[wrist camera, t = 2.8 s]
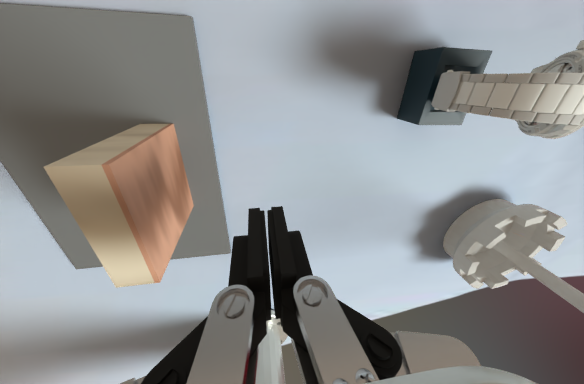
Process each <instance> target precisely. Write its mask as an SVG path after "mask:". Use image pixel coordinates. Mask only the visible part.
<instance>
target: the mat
mask: <svg viewBox="0 0 584 384" xmlns="http://www.w3.org/2000/svg"><path fill="white" fill-rule="evenodd" d="M139 124H174V127H175V131H176V135H177V139H178V144H179V148H180V152H181V156H182V160H183V164H184V168H185V172H186V176H187V180H188V184H189V188H190V192H191V196H192V200H193V204H194V206H193V209H192V211H191V213H190V215H189V218H188V220H187V222H186V224H185V227H184V229H183V231H182V234H181V236H180V238H179V240H178V243H177V245H176V247H175V249H174V252H173V254H172V256H171V259H180V258H190V257H199V256H209V255H219V254H228V253H230V252H231V249H230V243H229V237H228V231H227V224H226V218H225V212H224V206H223V200H222V194H221V188H220V181H219V175H218V169H217V163H216V157H215V151H214V145H213V139H212V132H211V126H210V120H209V114H208V108H207V102H206V96H205V89H204V83H203V77H202V71H201V65H200V59H199V53H198V47H197V40H196V34H195V28H194V22H193V18H192V17H191V16H181V15H166V14H151V13H137V12H122V11H107V10H93V9H78V8H63V7H48V6H34V5H19V4H4V3H0V161H1V162H2V164H3V165H4V167H5V168H6V170H7V171H8V172H9V174H10V175H11V177H12V178H13V180H14V181H15V182H16V184H17V185H18V187H19V188H20V190H21V191H22V192H23V194H24V195H25V197H26V198H27V200H28V201H29V202H30V204H31V205H32V207H33V208H34V210H35V211H36V212H37V214H38V215H39V217H40V218H41V220H42V221H43V222H44V224H45V225H46V227H47V228H48V230H49V231H50V232H51V234H52V235H53V237H54V238H55V240H56V241H57V242H58V244H59V245H60V247H61V248H62V250H63V251H64V252H65V254H66V255H67V257H68V258H69V260H70V261H71V262H72V264H73V265H74V267H75V268H76V269H84V268H93V267H103V265H102V263H101V262H100V260H99V258H98V257H97V255H96V254H95V252H94V250H93V249H92V247H91V245H90V244H89V242H88V240H87V239H86V237H85V235H84V234H83V232H82V230H81V229H80V227H79V225H78V224H77V222H76V220H75V219H74V217H73V215H72V214H71V212H70V210H69V209H68V207H67V205H66V204H65V202H64V200H63V199H62V197H61V195H60V194H59V192H58V190H57V189H56V187H55V185H54V184H53V182H52V180H51V179H50V177H49V175H48V174H47V172H46V170H45V169H44V166H46V165H49V164H51V163H53V162H55V161H58V160H60V159H62V158H64V157H67V156H69V155H71V154H73V153H76V152H78V151H80V150H82V149H85V148H87V147H89V146H91V145H94V144H96V143H98V142H100V141H103V140H105V139H107V138H109V137H112V136H114V135H116V134H118V133H121V132H123V131H125V130H127V129H130V128H132V127H134V126H136V125H139Z"/></svg>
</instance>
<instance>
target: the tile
mask: <svg viewBox="0 0 584 384" xmlns="http://www.w3.org/2000/svg"><path fill="white" fill-rule="evenodd" d="M44 169H45V170H46V172H47V174H48V175H49V177H50V179H51V180H52V182H53V184H54V185H55V187H56V189H57V190H58V192H59V194H60V195H61V197H62V199H63V200H64V202H65V204H66V205H67V207H68V209H69V210H70V212H71V214H72V215H73V217H74V219H75V220H76V222H77V224H78V225H79V227H80V229H81V230H82V232H83V234H84V235H85V237H86V239H87V240H88V242H89V244H90V245H91V247H92V249H93V250H94V252H95V254H96V255H97V257H98V258H99V260H100V262H101V263H102V265H103V267H104V268H105V270H106V272H107V273H108V275H109V277H110V278H111V280H112V282H113V283H114V285H115V287H116V288H117V287H125V286H134V285H142V284H150V283H159V282H160V281H161V279H162V277H163V274H164V272H165V270H166V268H167V265H168V263H169V261H170V259H171V256H172V254H173V252H174V249H175V247H176V245H177V243H178V240H179V238H180V236H181V234H182V231H183V229H184V227H185V224H186V222H187V220H188V218H189V215H190V213H191V211H192V209H193V206H194V204H193V200H192V196H191V192H190V188H189V184H188V180H187V176H186V172H185V168H184V164H183V160H182V156H181V152H180V148H179V144H178V139H177V135H176V131H175V127H174V124H139V125H136V126H134V127H132V128H130V129H127V130H125V131H123V132H121V133H118V134H116V135H114V136H112V137H109V138H107V139H105V140H103V141H100V142H98V143H96V144H94V145H91V146H89V147H87V148H85V149H82V150H80V151H78V152H76V153H73V154H71V155H69V156H67V157H64V158H62V159H60V160H58V161H55V162H53V163H51V164H49V165H46V166H44Z"/></svg>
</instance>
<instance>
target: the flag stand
mask: <svg viewBox="0 0 584 384" xmlns="http://www.w3.org/2000/svg"><path fill="white" fill-rule="evenodd" d="M566 225H567V222H566V220H565V219H564V218H562V217H561V216H559V215H556V214H554V213H552V212H550V211H548V210H546V209H543V208H541V207H539V206H536V205H533V204H523V205H515V204H513V203H511V202H509V201H507V200H504V199H492V200H487V201H484V202H481V203H479V204H477V205H475V206H473V207H472V208H470V209H468V210H467V211H465V212H464V213H463V214H462V215H460V216H459V217H458V218H457V219H456V220H455V221H454V222H453V223H452V225H451V226H450V227H449V229H448V230H447V232H446V234H445V237H444V240H443V248H444V250H445V252H446V253H447V254H448V255H450V256H451V257H452V258H453V267H454V269H455V271H456V272H457V273H458V274H459V275H460V276H461V277H462V278H463V279H464V280H466V281H467V282H468V283H469V284H470V285H471V286H472V287H474V288H477V289H479V288H480V287H481V286H482V285H483V283H482V282H484V283H485V284H487V285H488V286H489V287H490V288H491V289H493V288H497V287H501V286H504V285H506V284H508V281H509V280H508V279H507V278H506V277H504V275H506V274H508V273H510V272H512V271H514V270H518V271H519V272H521V273H522V274H523V275H527V274H528V273H529V274H530V275H532V276H533V277H534V278H536V279H537V280H538V281H540V282H542V283H543V284H544V285H546V286H547V287H548V288H550V289H551V290H552V291H554V292H555V293H557V294H558V295H559V296H561V297H562V298H564V299H565V300H566V301H568V302H569V303H571V304H572V305H573V306H575V307H576V308H578V309H579V310H580V311H582V312H583V313H584V294H583V293H581V292H580V291H578V290H577V289H575V288H574V287H572V286H571V285H569V284H568V283H566V282H565V281H563V280H562V279H560V278H559V277H557V276H556V275H554V274H553V273H551V272H550V271H548V270H547V269H545V268H544V267H542V266H541V263H539V262H538V261H536V260H535V259H533V257H534V256H535V255H536V254H537V253H538V252H539V251H540V250H541V249H542V248H544V249H546V250H548V251H549V252H550V251H556V250H557V248H558V247H559V246H560V245H561V243H562V241H563V240H564V238H565V236H563V235H561V234H559V233H557V232H555V231H554V229H555V228H556V229H558V230H560V229H561V228H563V227H564V226H566Z"/></svg>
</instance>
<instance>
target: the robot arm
mask: <svg viewBox="0 0 584 384" xmlns="http://www.w3.org/2000/svg"><path fill="white" fill-rule="evenodd" d="M268 237H269V256H270V267H271V278H272V288H273V299H274V310H275V311H274V310H271V297H270V274H269V262H268V250H267V238H266V227H265V215H264V211H260V208H252V209H249V218H248V235H246V236H234V239H233V248H232V257H231V266H230V276H229V285H228V287H226V288H224V289H223V290H222V291H220V292H219V293H218V295H217V296H216V297H215V299H214V301H213V303H212V306H211V309H210V312H209V315H208V317H207V318H206V319H204V320H203V321H202V322H201V323H200V324H199V325H198V326H197V327H196V328H195V329H194V330H193V331H192V332H191V333H190V334H189V335H188V336H187V337H186V338H184V339H183V340H182V341H181V342H180V343H179V344H178V345H177V346H176V347H175V348H174V349H173V350H172V351H171V352H170V353H169V354H168V355H167V356H166V357H164V358H163V359H162V360H161V361H160V362H159V363H158V364H157V365H156V366H155V367H154V368H153V369H152V370H151V371H150V372H149V373H148V374H147V376H145V377H142V378H140V379H137V380H136V379H135V378H132V379H130V380H128V381H125V382H123V383H120V384H285V377H284V368H283V359H282V350H281V344H282V343H283V342H284V341H285V340H286V338H287V336H289V337H291V341H292V344H293V348H294V352H295V355H296V359H297V362H298V366H299V369H300V373H301V376H302V380H303V383H304V384H537V383H535V382H533V381H530V380H528V379H526V378H523V377H521V376H519V375H515V374H513V373H509V372H506V371H503V370H499V369H493V368H489V367H482V366H481V365H480V363H479V361H478V359H477V358H476V356H475V355H474V354H473V353H472V351H471V350H470V349H469V348H468V347H467V346H466V345H465V344H464V343H463V342H461V341H459V340H458V339H456V338H453V337H450V336H444V335H435V334H425V333H415V332H405V331H396V333H389V332H388V331H387V330H385V329H384V328H383V327H381V326H379V325H378V324H376V323H374V322H373V321H371V320H370V319H368V318H366V317H365V316H363V315H362V314H360V313H358V312H357V311H355V310H354V309H352V308H350V307H349V306H347V305H346V304H344V303H342V302H341V301H339V300H337V299H336V297H335V295H334V293H333V291H332V289H331V287H330V286H329V285H328V283H327V282H326V281H325V280H323V279H322V278H320V277H317V276H313V274H312V271H311V268H310V264H309V261H308V257H307V254H306V251H305V247H304V244H303V240H302V237H301V234H300V231H290V232H288V230H287V226H286V221H285V216H284V212H283V207H282V206H281V207H272V208H271V210H268Z"/></svg>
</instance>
